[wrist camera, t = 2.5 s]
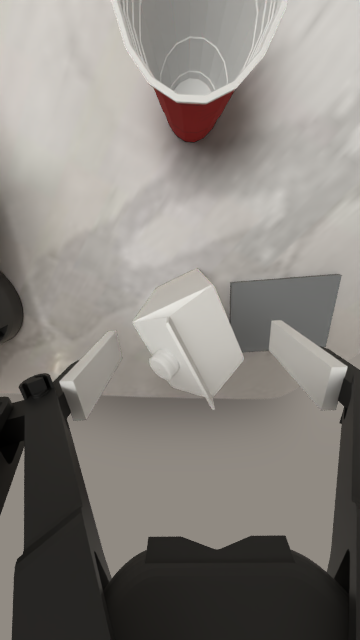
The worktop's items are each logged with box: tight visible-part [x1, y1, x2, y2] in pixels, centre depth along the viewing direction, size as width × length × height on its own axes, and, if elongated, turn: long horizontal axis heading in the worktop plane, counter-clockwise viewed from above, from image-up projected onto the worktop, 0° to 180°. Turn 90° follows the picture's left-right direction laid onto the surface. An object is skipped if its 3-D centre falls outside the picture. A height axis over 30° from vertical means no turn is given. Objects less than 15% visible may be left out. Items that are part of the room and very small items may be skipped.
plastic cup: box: [111, 0, 288, 142], centre depth 16 cm, size 11×11×12 cm
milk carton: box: [132, 268, 244, 410], centre depth 20 cm, size 7×7×19 cm
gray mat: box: [230, 274, 341, 352], centre depth 30 cm, size 16×12×1 cm
